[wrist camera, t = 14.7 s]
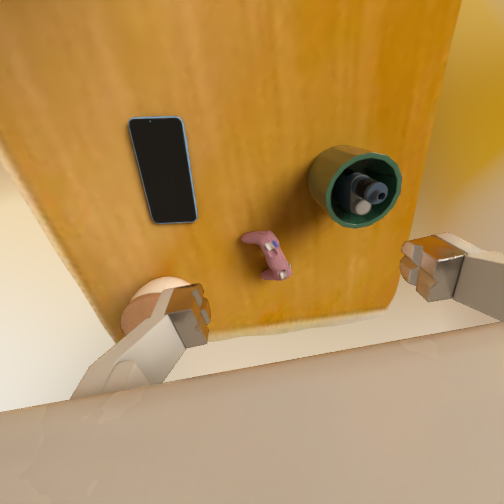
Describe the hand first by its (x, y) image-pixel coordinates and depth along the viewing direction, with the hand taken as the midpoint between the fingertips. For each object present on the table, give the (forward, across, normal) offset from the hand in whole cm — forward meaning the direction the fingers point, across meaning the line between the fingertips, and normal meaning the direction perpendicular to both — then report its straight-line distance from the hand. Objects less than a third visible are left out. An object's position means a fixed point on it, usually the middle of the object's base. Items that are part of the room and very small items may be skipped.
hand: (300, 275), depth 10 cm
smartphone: (+29, +13, -1) cm, 32 cm away
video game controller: (+29, +1, +15) cm, 33 cm away
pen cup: (+29, -12, +5) cm, 32 cm away
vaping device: (+28, -12, +6) cm, 31 cm away
